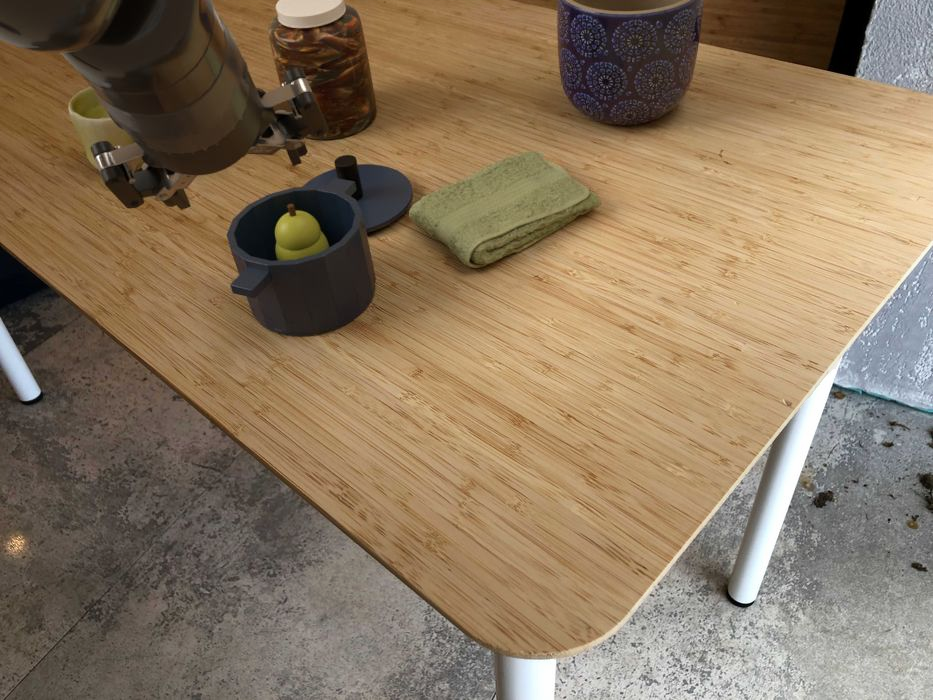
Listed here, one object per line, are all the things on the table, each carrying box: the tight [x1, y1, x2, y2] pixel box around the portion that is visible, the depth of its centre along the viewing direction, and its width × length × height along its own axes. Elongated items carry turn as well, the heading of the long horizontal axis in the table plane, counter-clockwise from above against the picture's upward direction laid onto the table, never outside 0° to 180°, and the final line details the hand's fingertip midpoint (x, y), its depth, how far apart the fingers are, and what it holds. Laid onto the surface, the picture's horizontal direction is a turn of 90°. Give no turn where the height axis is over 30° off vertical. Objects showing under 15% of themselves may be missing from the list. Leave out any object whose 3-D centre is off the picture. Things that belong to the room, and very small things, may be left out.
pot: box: [226, 178, 377, 337], centre depth 81 cm, size 12×18×8 cm
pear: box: [275, 204, 329, 261], centre depth 80 cm, size 5×5×10 cm
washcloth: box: [408, 151, 602, 269], centre depth 90 cm, size 13×18×3 cm
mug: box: [68, 86, 144, 171], centre depth 104 cm, size 12×10×10 cm
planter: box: [556, 0, 705, 126], centre depth 101 cm, size 17×17×15 cm
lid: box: [301, 154, 414, 233], centre depth 93 cm, size 13×13×6 cm
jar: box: [268, 0, 378, 141], centre depth 105 cm, size 12×12×15 cm
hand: (237, 174), depth 62 cm, fingers open, 8 cm apart
